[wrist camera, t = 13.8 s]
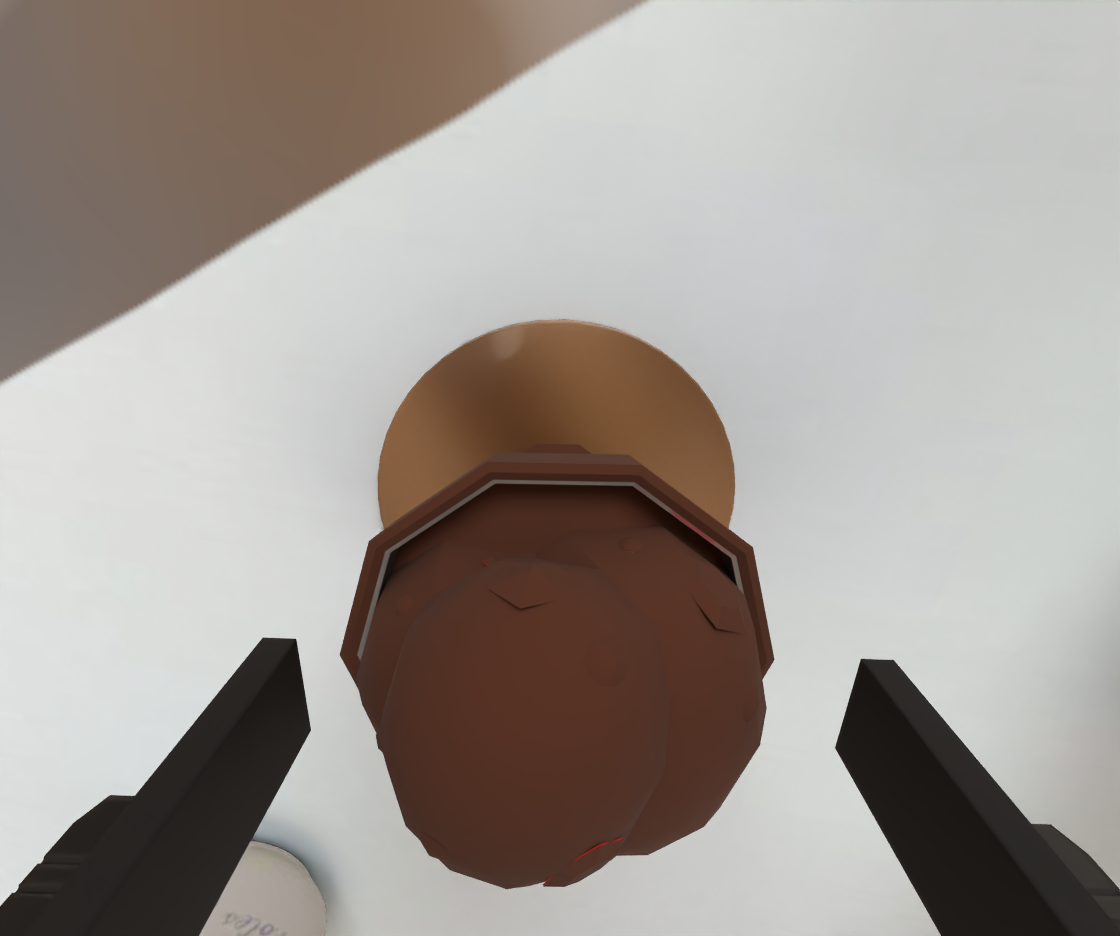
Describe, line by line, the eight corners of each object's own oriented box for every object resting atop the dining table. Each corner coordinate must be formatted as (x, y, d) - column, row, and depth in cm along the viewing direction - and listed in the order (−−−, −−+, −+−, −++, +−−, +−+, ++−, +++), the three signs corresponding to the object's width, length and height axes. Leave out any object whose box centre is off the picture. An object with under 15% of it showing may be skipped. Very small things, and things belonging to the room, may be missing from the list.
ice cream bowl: (401, 576, 24) (183, 1028, 10) (471, 333, 20) (284, 492, 6) (623, 640, 25) (714, 1115, 11) (727, 423, 21) (1059, 723, 7)
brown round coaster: (568, 230, 19) (568, 229, 19) (799, 506, 23) (805, 511, 23) (308, 491, 23) (302, 496, 22) (549, 692, 27) (549, 701, 26)
